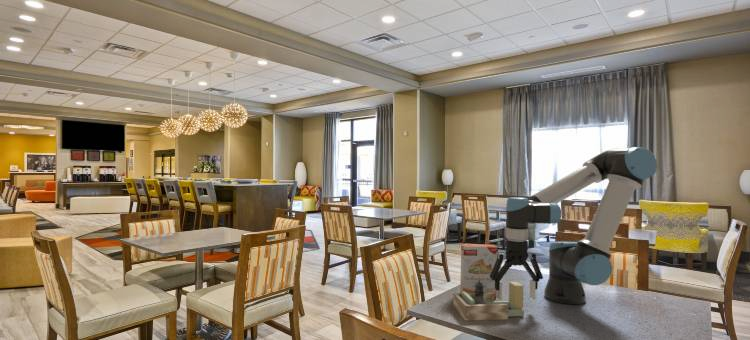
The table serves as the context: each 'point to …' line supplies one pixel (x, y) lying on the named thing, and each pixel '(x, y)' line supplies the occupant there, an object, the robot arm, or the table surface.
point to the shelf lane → (480, 308)
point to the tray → (513, 303)
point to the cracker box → (478, 267)
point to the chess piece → (479, 293)
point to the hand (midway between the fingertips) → (515, 298)
